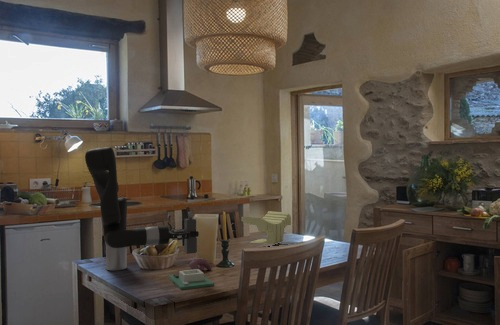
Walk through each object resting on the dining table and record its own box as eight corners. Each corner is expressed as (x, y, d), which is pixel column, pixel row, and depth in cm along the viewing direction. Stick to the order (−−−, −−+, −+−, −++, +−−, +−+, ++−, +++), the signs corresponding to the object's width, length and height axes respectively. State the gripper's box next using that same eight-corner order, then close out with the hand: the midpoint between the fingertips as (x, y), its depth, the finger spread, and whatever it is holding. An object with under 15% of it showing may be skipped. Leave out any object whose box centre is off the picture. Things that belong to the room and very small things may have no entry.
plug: (184, 251, 201) (184, 211, 201) (195, 251, 203) (195, 211, 203) (186, 253, 197) (187, 212, 197) (198, 252, 199) (198, 212, 199)
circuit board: (168, 277, 207) (168, 268, 207) (199, 274, 212) (199, 265, 212) (180, 289, 189) (180, 279, 188) (214, 285, 194) (214, 275, 194)
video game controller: (206, 272, 223) (201, 258, 224) (212, 269, 220) (207, 254, 222) (191, 276, 215) (186, 261, 217) (197, 273, 212) (192, 258, 214)
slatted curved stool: (265, 250, 265) (265, 218, 264) (241, 247, 274) (241, 216, 273) (291, 242, 290) (291, 212, 289) (268, 239, 299) (268, 211, 298)
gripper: (160, 228, 188) (202, 226, 195) (152, 224, 201) (191, 221, 208) (160, 247, 188) (202, 244, 195) (152, 241, 201) (191, 239, 208)
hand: (196, 233), depth 201 cm, fingers closed on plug, 4 cm apart
